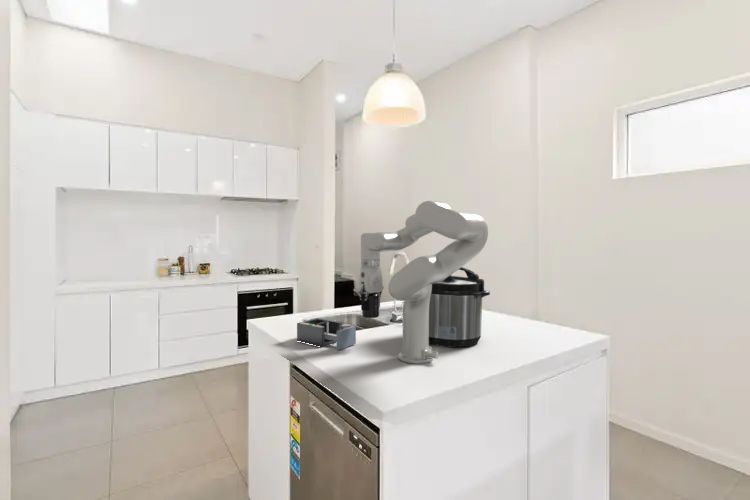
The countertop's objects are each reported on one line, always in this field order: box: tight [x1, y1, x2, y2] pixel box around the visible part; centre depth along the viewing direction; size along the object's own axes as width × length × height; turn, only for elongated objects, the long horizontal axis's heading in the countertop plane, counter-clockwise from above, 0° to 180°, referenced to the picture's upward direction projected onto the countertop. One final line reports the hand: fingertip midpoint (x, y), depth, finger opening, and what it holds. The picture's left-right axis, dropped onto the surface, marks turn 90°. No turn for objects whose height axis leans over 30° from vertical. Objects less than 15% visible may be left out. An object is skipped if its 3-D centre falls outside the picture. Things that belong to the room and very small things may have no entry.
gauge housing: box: [296, 317, 343, 348], centre depth 162 cm, size 14×12×8 cm
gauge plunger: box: [315, 321, 357, 351], centre depth 156 cm, size 13×12×9 cm
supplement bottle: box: [361, 291, 380, 319], centre depth 154 cm, size 7×7×12 cm
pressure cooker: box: [429, 266, 491, 348], centre depth 166 cm, size 30×28×32 cm
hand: (370, 308), depth 154 cm, fingers closed on supplement bottle, 6 cm apart
